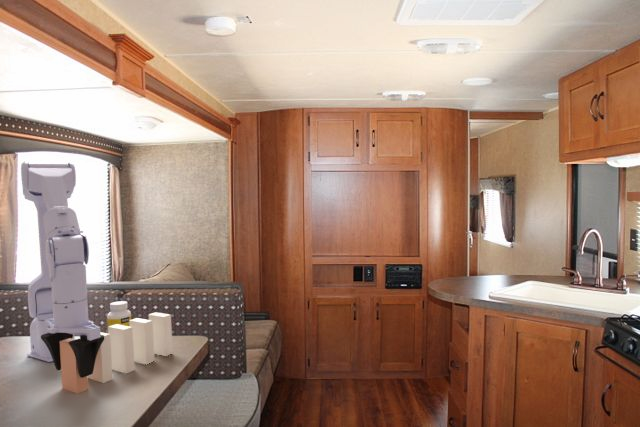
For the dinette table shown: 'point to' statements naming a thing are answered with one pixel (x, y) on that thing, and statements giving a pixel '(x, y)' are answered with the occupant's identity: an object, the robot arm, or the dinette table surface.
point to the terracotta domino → (71, 369)
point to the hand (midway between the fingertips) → (74, 371)
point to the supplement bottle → (119, 314)
